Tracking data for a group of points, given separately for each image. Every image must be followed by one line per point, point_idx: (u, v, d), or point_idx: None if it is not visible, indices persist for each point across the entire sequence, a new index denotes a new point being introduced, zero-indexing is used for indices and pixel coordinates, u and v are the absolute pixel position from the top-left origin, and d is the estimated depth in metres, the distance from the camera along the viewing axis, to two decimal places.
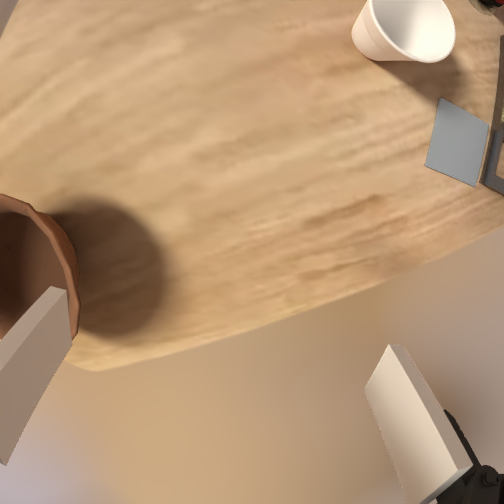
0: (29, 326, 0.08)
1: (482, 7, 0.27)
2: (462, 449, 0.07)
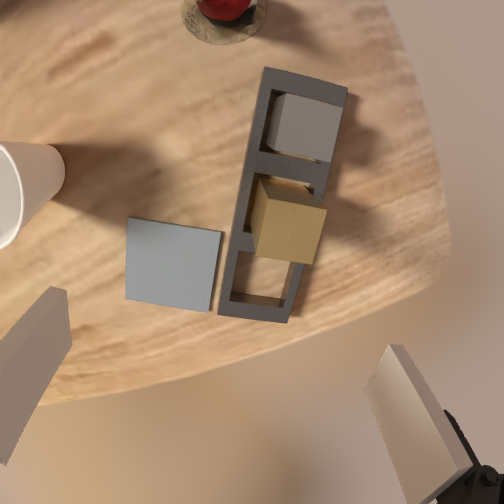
0: (29, 326, 0.08)
1: (225, 33, 0.25)
2: (462, 449, 0.07)
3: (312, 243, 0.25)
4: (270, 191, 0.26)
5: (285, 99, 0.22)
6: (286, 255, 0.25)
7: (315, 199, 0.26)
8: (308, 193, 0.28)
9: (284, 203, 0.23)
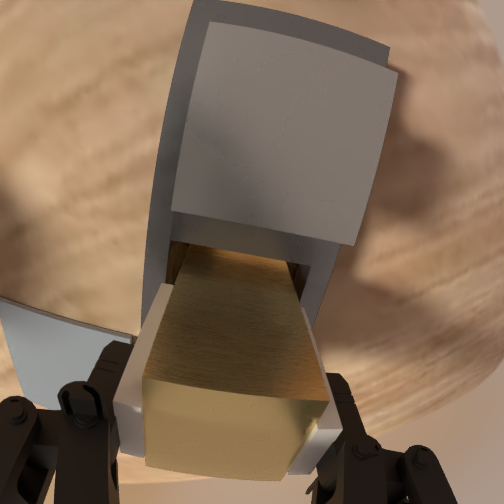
0: None
1: None
2: (334, 410, 0.08)
3: (283, 457, 0.08)
4: (178, 318, 0.09)
5: (207, 41, 0.06)
6: (217, 472, 0.08)
7: (303, 330, 0.10)
8: (290, 297, 0.12)
9: (194, 390, 0.07)
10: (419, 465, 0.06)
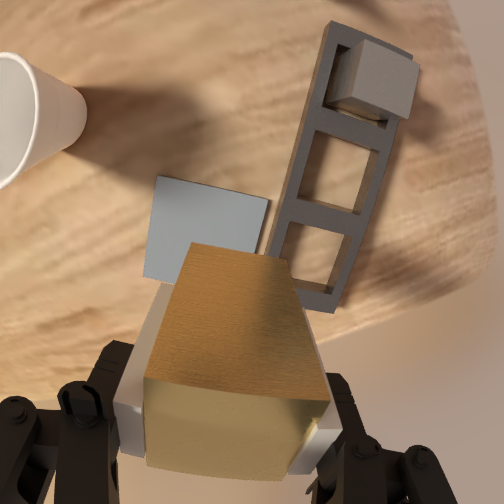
0: (161, 320, 0.10)
1: None
2: (333, 410, 0.08)
3: (284, 457, 0.08)
4: (179, 318, 0.09)
5: (364, 45, 0.17)
6: (218, 472, 0.08)
7: (304, 330, 0.10)
8: (291, 297, 0.12)
9: (196, 390, 0.07)
10: (420, 465, 0.06)
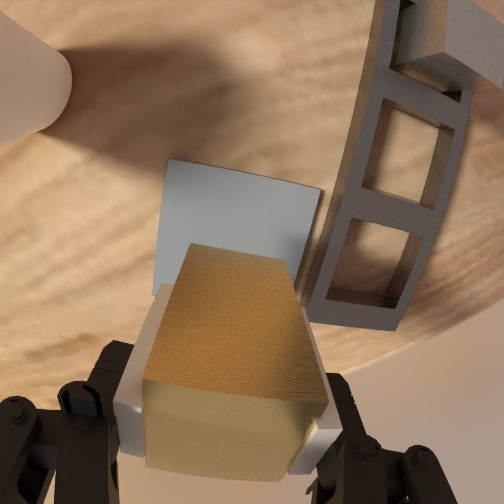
0: None
1: None
2: (333, 410, 0.08)
3: (282, 458, 0.08)
4: (178, 319, 0.09)
5: None
6: (217, 472, 0.08)
7: (303, 331, 0.10)
8: (290, 298, 0.12)
9: (194, 392, 0.07)
10: (419, 465, 0.06)
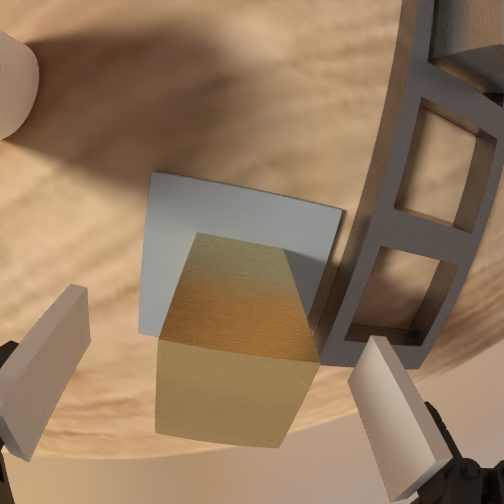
0: (53, 322, 0.09)
1: None
2: (442, 440, 0.07)
3: (280, 421, 0.10)
4: (188, 294, 0.11)
5: None
6: (221, 437, 0.10)
7: (298, 306, 0.12)
8: (287, 280, 0.13)
9: (203, 351, 0.08)
10: None
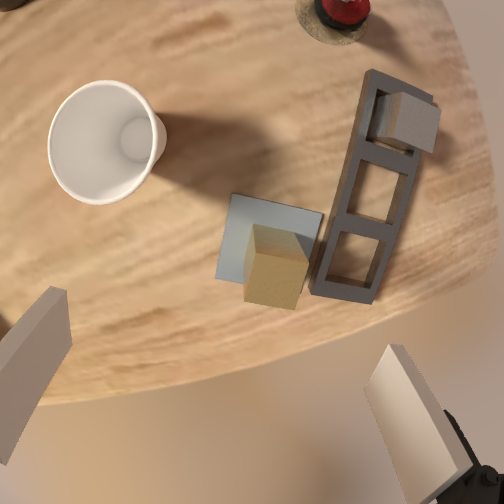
0: (29, 326, 0.08)
1: (333, 34, 0.28)
2: (462, 449, 0.07)
3: (295, 292, 0.27)
4: (259, 243, 0.29)
5: (402, 97, 0.24)
6: (271, 301, 0.28)
7: (301, 250, 0.29)
8: (296, 242, 0.31)
9: (270, 257, 0.26)
10: None
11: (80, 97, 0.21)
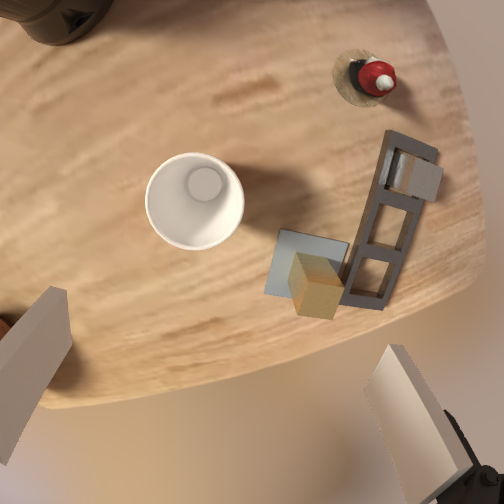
0: (29, 326, 0.08)
1: (362, 98, 0.37)
2: (462, 449, 0.07)
3: (333, 307, 0.37)
4: (307, 272, 0.38)
5: (415, 161, 0.33)
6: (316, 314, 0.38)
7: (336, 275, 0.39)
8: (331, 268, 0.41)
9: (318, 284, 0.36)
10: None
11: (172, 161, 0.30)
